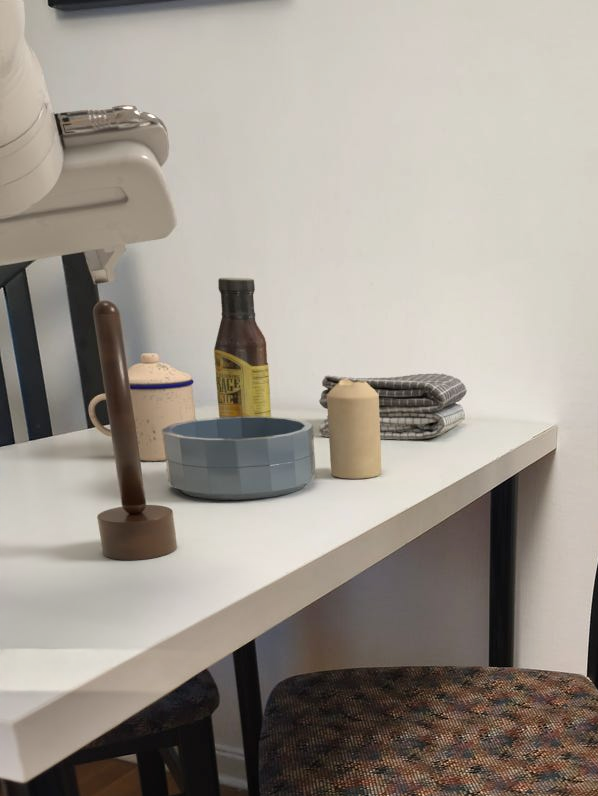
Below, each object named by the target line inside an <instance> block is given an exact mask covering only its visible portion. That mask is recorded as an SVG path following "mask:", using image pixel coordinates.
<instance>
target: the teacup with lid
mask: <svg viewBox="0 0 598 796" xmlns="http://www.w3.org/2000/svg"><path fill="white" fill-rule="evenodd" d="M140 361H141V362H138V363H135V364H133V365H131V366H130V367H129V368H127V369H128V376H129V383H130V390H131V398H132V405H133V412H134V419H135V426H136V434H137V441H138V448H139V455H140V461H143V462H166V458H165V450H164V442H163V434H162V429H164V428H166V427H167V426H169V425H172V424H176V423H181V422H185V421H190V420H197V419H196V411H195V410H196V409H195V402H194V401H195V400H194V393H193V384H194V380H193V377H192V376H191V374H189V373H187V372H184V371H180V370H178V369H176V368H174V367H173V366H172V365H170V364H168V363H165V362H160V356H159V354H158V353H155V352H154V353H152V352H148V353H141V354H140ZM102 401H106V396H105V393H100V394H98V395H96V396H94V397H93V398H92V399H91V400H90V402H89V404H88V415H89V419H90V421H91V423H92V424H93V426H94V427H95V428H96V429H97V431H99V432H100V433H101V434H103V435H104V436H107V437H111V438H112V436H111V429H110V428H107V427H106V426H104V425H103V424H102V423H101V422H100V421H99V419H98V416H97V414H96V413H97V412H96V406H97V404H99V403H100V402H102Z"/></svg>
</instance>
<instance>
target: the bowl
mask: <svg viewBox="0 0 598 796" xmlns="http://www.w3.org/2000/svg"><path fill="white" fill-rule="evenodd" d="M162 434H163V442H164V450H165V458H166V460H165V464H166V474H167V480H168V483H169V484H170V487H172V488H175V489H178V490H180V492H182V493H184V494H185V495H188V496H190V497H195V498H198V499H205V500H217V501H241V500H242V501H244V500H245V501H246V500H257V499H258V500H259V499H267V498H273V497H274V498H275V497H280V496H284V495H288V494H292V493H295V492H297V491H299V490H301V489H303V488H304V487H305V486H306V484H309V483H310V482H312V481H313V480H314V478H315V477H316V476H317V472H316V470H317V469H316V455H315V438H314V425H313V424H312V423H309V421H306V420H301V419H296V418H290V417H279V416H271V417H267V416H238V417H219V416H218V417H209V418H200V419H199V418H198V419H196V420H190V421H185V422H181V423H176V424H172V425H169V426H167V427H166V428H164V429H162Z"/></svg>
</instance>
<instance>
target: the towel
mask: <svg viewBox="0 0 598 796" xmlns="http://www.w3.org/2000/svg"><path fill="white" fill-rule="evenodd" d="M342 379H348V380H350V381H352V382H358V381H360V380H365V381H366V382H367V383H368V384H369V385H370V386H371V387H372V388H373V389H374V390H375V391H376V392H377V393H378V394H379V417H380V440H425V439H430V438H431V439H432V438H435V437H438V436H440V435H442V434H444V433H446V432H448V431H449V430H450V429H453V428H454V427H456V426H457V425H458V424H461V423H463V421H465V419H466V412H465V410H464V407H463V405H462V404H460V403H459V404H458V402H460V401H462V400H463V399H464V397H465V396H466V394H467V387H466V386H465V384H464V383H463V381H461V380H460V379H459V378H457V377H454V376H452V375H448V374H444V373H436V372H435V373H418V374H410V375H402V376H395V377H394V376H391V377H367V378H366V377H346V376H336V375H325V376H324V377H323V378H322V382H321V385H322V387H323V388H326V389H324V390H322V392H321V394H320V399H319V400H318V402H319V404H320V406H321V407H322V408H324V409H325V410H328V408H327V394H328V393H329V392H330V391H331V389H332V388H334V387H335V386H336V385H337V384H338V383H339V381H340V380H342ZM318 427H319V428H318V433H319V434H320V436H322V437H324V438H329V426H328V415H327V416H326V419H324V420H323V421H322V422H321V423H320V425H319V426H318Z"/></svg>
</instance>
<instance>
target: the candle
mask: <svg viewBox="0 0 598 796" xmlns="http://www.w3.org/2000/svg"><path fill="white" fill-rule="evenodd" d="M327 408H328V409H327V416H328V426H329V437H328V441H329V442H328V443H329V460H330V472H331V475H332V476H333V477H335V478H341V479H351V480H353V479H355V480H356V479H359V480H360V479H368V478H374V477H377V476H380V475H381V473H382V451H381V439H380V417H379V394H378V393H377V392H376V391H375V390H374V389H373V388H372V387H371V386H370V385H369V384H368V383H367V382H366V381H365V380H360V381H358V382H352V381H350V380H348V379H342V380H340V381H339V383H338V384H337V385H336V386H335V387H334V388H332V389H331V391H330V392H329V393H328V394H327Z"/></svg>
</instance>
